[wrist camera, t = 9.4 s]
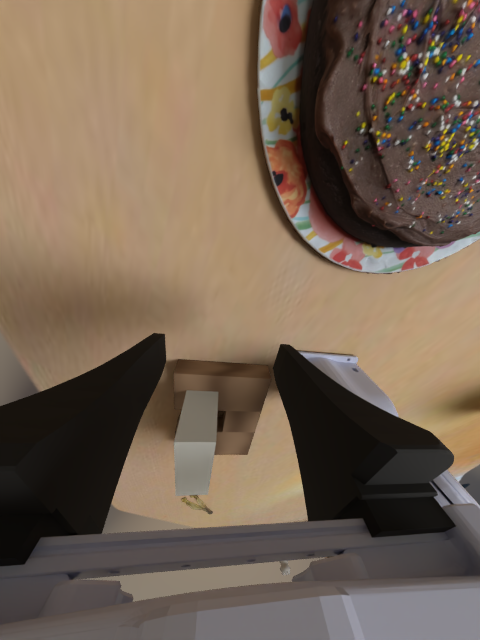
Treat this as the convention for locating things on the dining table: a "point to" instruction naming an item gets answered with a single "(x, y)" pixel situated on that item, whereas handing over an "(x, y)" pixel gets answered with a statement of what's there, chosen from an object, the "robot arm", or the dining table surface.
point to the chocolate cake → (373, 126)
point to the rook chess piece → (285, 567)
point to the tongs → (197, 507)
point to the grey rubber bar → (195, 443)
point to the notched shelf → (227, 398)
